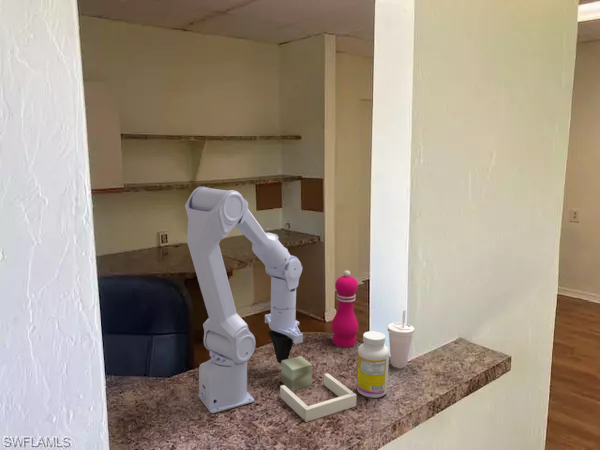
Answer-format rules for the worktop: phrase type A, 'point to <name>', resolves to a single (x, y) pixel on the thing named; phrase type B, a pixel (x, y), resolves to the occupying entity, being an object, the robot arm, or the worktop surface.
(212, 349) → the robot arm
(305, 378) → the block
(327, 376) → the block
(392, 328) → the smoothie
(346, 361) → the worktop surface
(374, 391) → the supplement bottle
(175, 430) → the worktop surface
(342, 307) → the pepper mill
